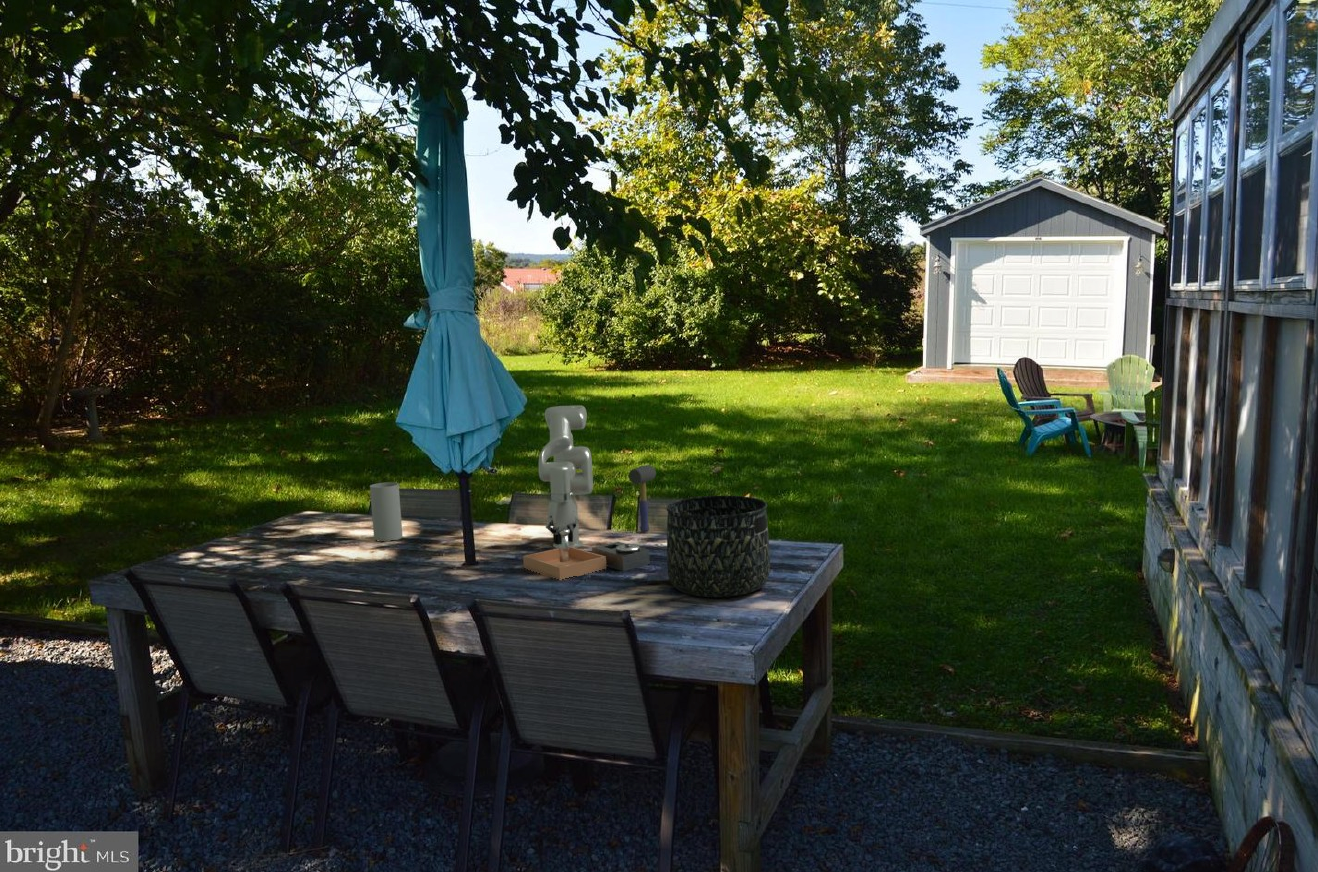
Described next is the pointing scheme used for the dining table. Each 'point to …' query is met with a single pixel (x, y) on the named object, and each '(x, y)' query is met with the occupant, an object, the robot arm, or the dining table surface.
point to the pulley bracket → (623, 555)
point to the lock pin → (564, 545)
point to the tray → (564, 563)
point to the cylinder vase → (386, 511)
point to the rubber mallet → (643, 490)
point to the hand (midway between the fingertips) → (563, 542)
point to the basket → (718, 545)
